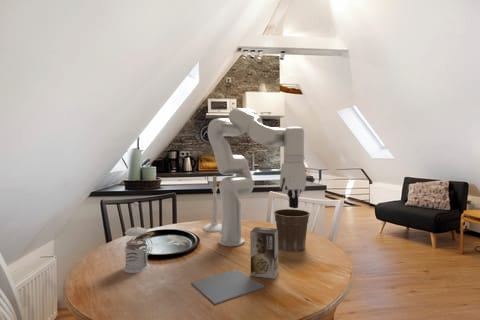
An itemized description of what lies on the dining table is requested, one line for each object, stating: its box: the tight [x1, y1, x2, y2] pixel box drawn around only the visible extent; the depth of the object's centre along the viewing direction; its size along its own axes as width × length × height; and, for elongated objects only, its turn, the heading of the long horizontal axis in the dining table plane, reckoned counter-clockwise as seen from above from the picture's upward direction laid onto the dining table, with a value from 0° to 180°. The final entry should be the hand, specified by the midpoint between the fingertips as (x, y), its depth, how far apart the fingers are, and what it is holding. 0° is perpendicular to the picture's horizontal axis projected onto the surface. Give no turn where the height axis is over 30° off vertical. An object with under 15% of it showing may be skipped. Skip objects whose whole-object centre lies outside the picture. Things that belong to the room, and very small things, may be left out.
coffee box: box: [249, 226, 279, 280], centre depth 105 cm, size 9×6×16 cm
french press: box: [122, 201, 153, 274], centre depth 110 cm, size 10×12×25 cm
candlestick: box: [203, 175, 222, 233], centre depth 163 cm, size 13×13×30 cm
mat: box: [190, 269, 265, 306], centre depth 97 cm, size 16×18×1 cm
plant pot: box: [273, 208, 311, 252], centre depth 133 cm, size 16×16×16 cm
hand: (293, 207), depth 112 cm, fingers closed
